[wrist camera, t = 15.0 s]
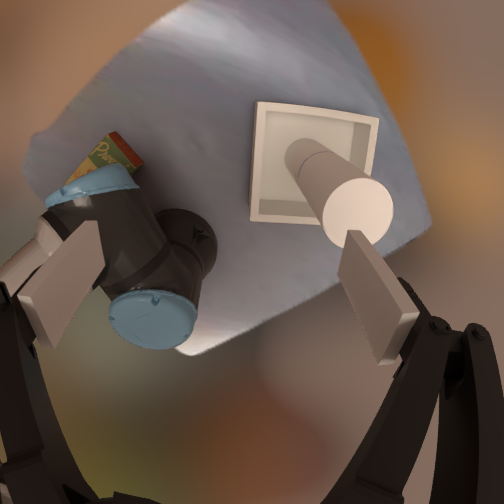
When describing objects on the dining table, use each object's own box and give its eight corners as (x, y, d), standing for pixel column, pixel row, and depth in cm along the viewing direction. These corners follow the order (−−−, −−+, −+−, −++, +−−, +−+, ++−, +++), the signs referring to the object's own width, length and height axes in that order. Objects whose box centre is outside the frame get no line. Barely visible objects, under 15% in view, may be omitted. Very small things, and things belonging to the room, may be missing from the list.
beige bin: (248, 203, 52) (250, 221, 45) (255, 101, 44) (257, 101, 37) (345, 209, 53) (359, 227, 46) (359, 114, 45) (379, 118, 38)
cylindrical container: (330, 144, 46) (403, 189, 25) (319, 182, 50) (377, 255, 28) (290, 133, 45) (336, 169, 24) (280, 173, 49) (312, 242, 27)
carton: (66, 186, 49) (55, 193, 45) (116, 129, 45) (106, 132, 41) (92, 216, 52) (82, 225, 49) (145, 162, 48) (137, 168, 44)
